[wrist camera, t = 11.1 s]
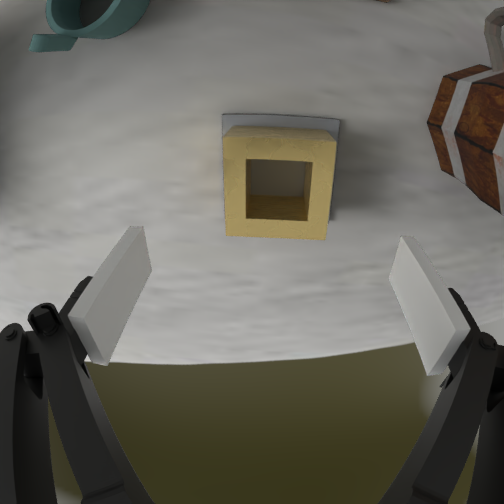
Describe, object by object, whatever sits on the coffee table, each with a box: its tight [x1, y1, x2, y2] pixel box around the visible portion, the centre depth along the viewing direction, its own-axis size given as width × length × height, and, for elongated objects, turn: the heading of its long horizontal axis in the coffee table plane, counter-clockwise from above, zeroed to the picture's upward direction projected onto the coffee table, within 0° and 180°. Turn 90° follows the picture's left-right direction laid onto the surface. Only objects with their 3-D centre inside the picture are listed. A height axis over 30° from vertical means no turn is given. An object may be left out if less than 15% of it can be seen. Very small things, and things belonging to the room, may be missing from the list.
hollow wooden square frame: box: [223, 126, 337, 240], centre depth 25 cm, size 8×8×5 cm
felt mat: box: [222, 114, 340, 224], centre depth 27 cm, size 10×10×1 cm
